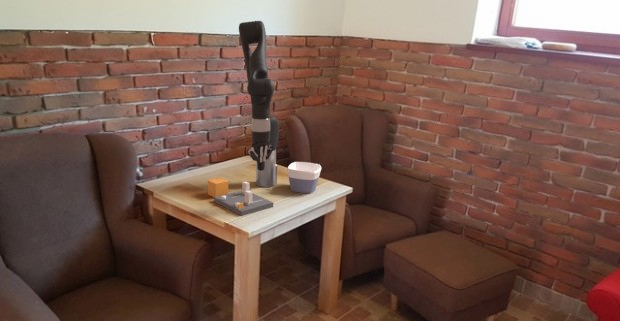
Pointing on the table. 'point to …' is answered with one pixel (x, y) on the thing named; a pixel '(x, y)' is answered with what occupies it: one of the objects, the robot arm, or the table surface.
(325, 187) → the table surface
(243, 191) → the untagged breaker
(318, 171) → the bowl
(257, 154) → the robot arm
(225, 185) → the orange block
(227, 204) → the breaker panel
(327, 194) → the table surface
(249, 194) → the block
